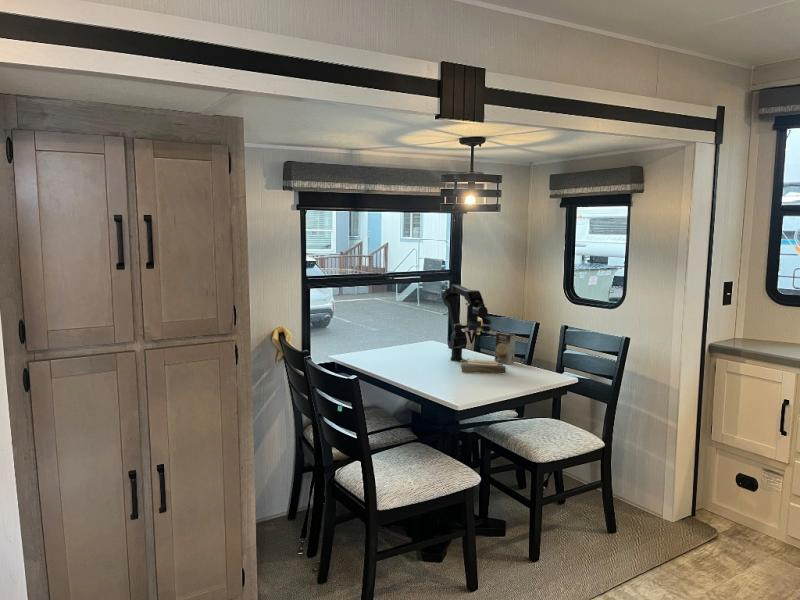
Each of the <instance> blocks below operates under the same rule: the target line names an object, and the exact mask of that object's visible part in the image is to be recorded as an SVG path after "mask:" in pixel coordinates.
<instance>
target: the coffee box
mask: <svg viewBox="0 0 800 600" xmlns="http://www.w3.org/2000/svg"><path fill="white" fill-rule="evenodd" d="M516 337H517V336H516V334H515V333H511V332H506V331H505V332H504V331H500V332H496V333H495V347H494V348H495V349H494V361H496V362H497V363H500V364H503V365H504V364H505V365H510V364H514V361H515V347H516Z"/></svg>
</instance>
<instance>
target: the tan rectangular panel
mask: <svg viewBox="0 0 800 600" xmlns="http://www.w3.org/2000/svg"><path fill="white" fill-rule="evenodd" d="M467 362H468V364H469V365H493V366H498V365H497V363H498V362H496V361H495V360H483V359H482V360H481V359H479V360H478V359H467Z"/></svg>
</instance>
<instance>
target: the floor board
mask: <svg viewBox="0 0 800 600" xmlns="http://www.w3.org/2000/svg"><path fill="white" fill-rule="evenodd" d="M497 365H498V366H493V365H469V364H468V361H460V368H461V369H460V370H462V371H461V373H475V372H480V374H498V373H505V374H506V366H505V365H504V363H499V362H497Z"/></svg>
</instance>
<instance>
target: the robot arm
mask: <svg viewBox="0 0 800 600" xmlns="http://www.w3.org/2000/svg"><path fill="white" fill-rule="evenodd" d="M460 296H462V297H463V298H464V300H465V301H467V302H465V305H466V306H467V308H466V309H467V310H466V324H465V325H463V323H461V322H460V318H459V312H458V308H457V303H458V302H459V299H458V298H459V297H460ZM441 298H442V301H443V304H444V305H445V306H446V307H447V310H448V311H447V312H448V316H449V320H450V326H451V330H452V332H451V335H450V341H449V342H448V343H447V347H448V349H450V350H451V356H450V360H451V361H460V360H462V361H464V359H463V349H465V350H466V349H467V345H468V339H469V343H470V344H473V342H474V339H475V337H476V335H477V334H479V333H480V330H482V331H484V332H491V326H490V324H486V323H485V324H482V321H481V320H478V318H485V317H487V315H488V313H489V310H488V307H486V304H485V302H484V299H483V296H482V293H481V291H479V290H475V289H469V288H467V287H464V286H462V285H461V284H451V286H450V287H448V288H446V289H445V290H444V291H443V293H442V294H441ZM471 331H472V332H471ZM467 336H468V338H467Z"/></svg>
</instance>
